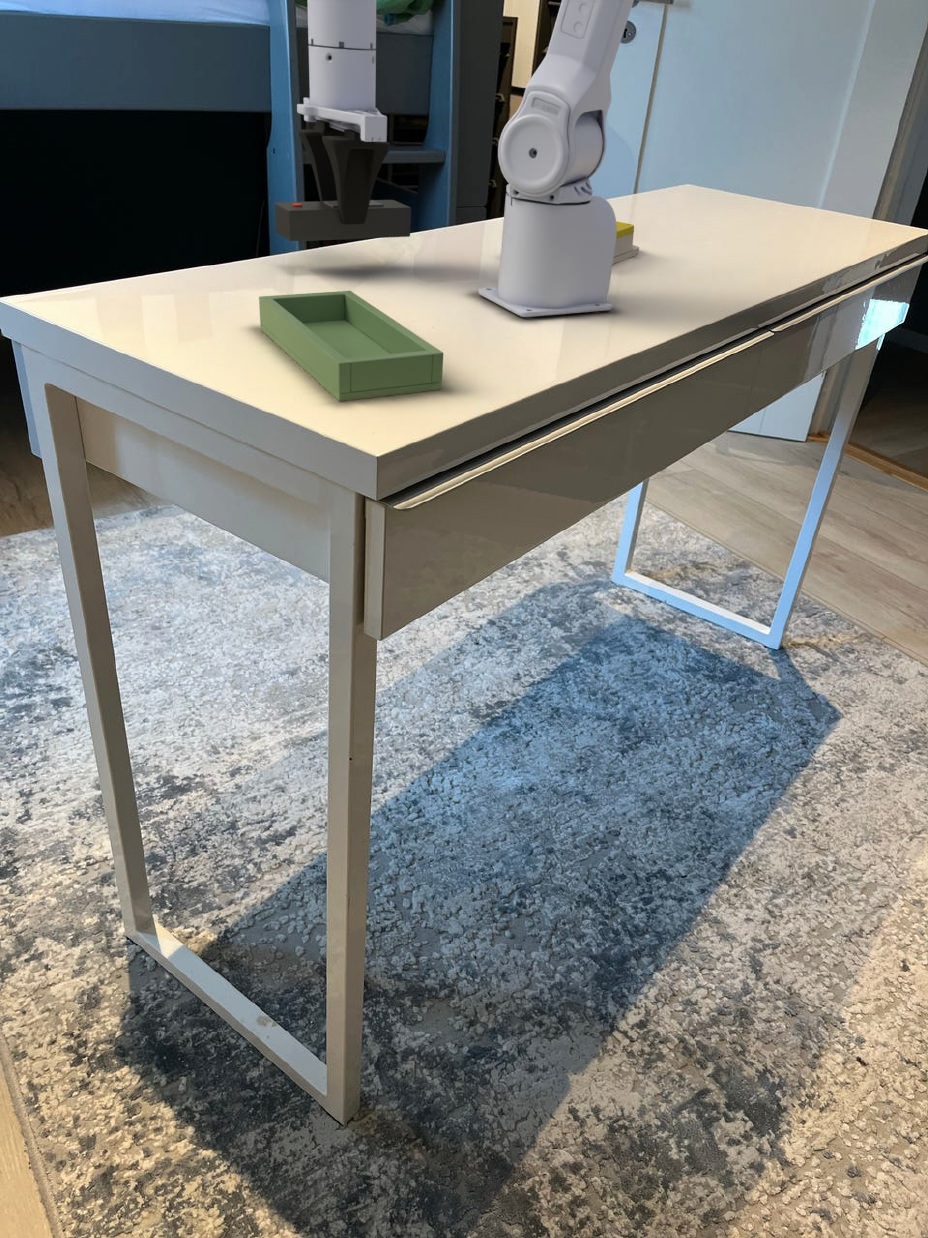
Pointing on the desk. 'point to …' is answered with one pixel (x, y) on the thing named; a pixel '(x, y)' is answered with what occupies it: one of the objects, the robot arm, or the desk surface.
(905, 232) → the desk surface
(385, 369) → the tray
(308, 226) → the remote
